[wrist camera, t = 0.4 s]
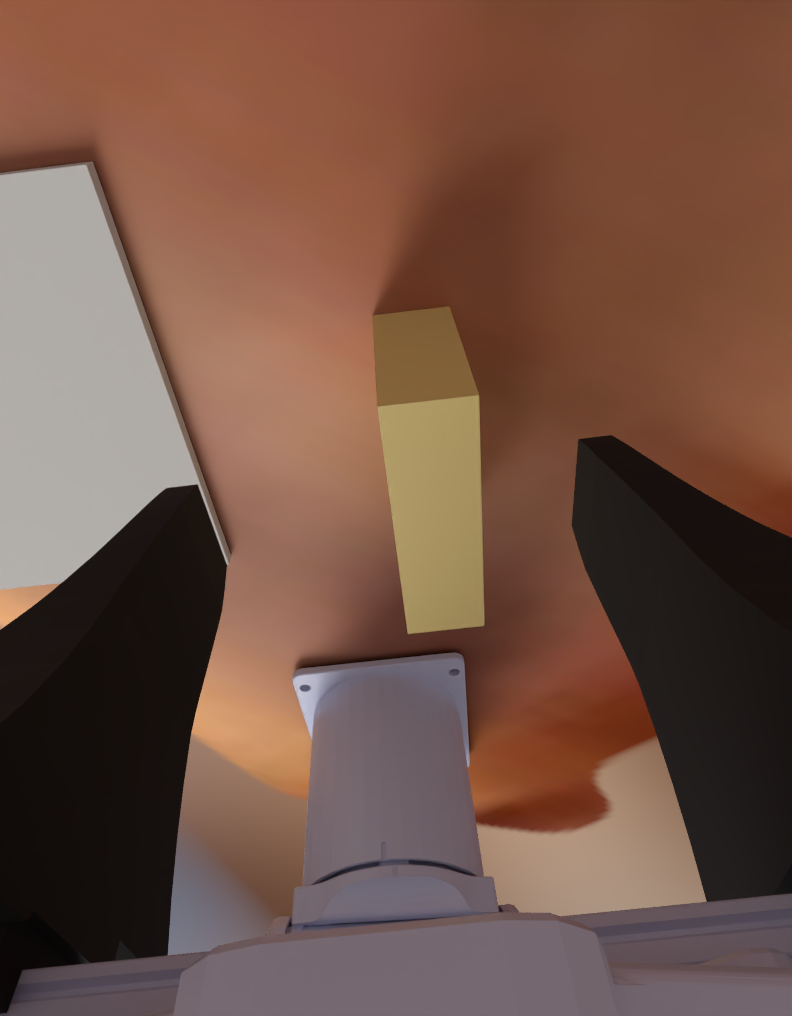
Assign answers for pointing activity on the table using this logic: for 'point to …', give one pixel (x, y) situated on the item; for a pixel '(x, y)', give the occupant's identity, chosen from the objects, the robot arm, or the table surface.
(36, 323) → the mat
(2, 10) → the table surface
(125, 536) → the robot arm
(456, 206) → the table surface
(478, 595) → the block
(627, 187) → the table surface
